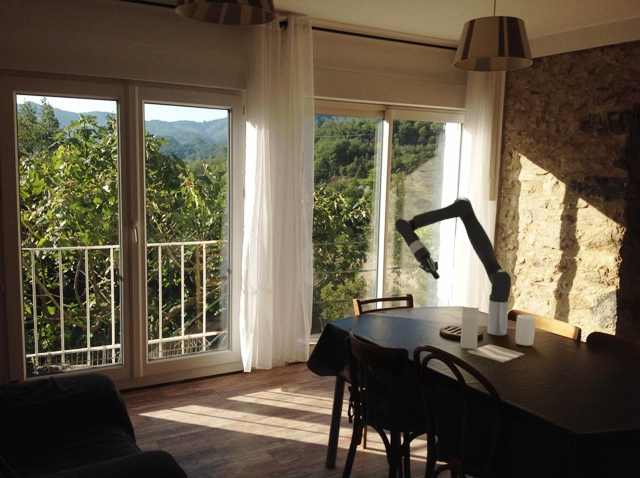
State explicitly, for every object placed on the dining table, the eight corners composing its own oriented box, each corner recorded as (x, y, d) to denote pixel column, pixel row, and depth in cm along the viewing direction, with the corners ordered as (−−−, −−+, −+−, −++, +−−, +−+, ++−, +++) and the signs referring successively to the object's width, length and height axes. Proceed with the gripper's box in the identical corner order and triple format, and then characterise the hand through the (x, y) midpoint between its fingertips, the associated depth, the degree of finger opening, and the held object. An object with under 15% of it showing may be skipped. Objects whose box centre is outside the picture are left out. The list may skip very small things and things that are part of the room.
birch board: (489, 345, 269) (489, 344, 269) (524, 355, 255) (524, 353, 255) (467, 352, 257) (467, 351, 257) (502, 362, 244) (502, 361, 244)
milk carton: (476, 349, 262) (479, 309, 260) (461, 348, 263) (463, 308, 261) (475, 345, 269) (478, 306, 267) (460, 343, 270) (462, 305, 268)
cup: (534, 344, 272) (536, 316, 271) (532, 349, 265) (534, 319, 263) (515, 342, 276) (517, 313, 274) (513, 346, 268) (515, 317, 267)
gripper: (415, 247, 279) (434, 275, 271) (432, 245, 288) (450, 272, 280) (406, 256, 283) (424, 284, 276) (423, 254, 292) (441, 281, 284)
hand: (437, 278), depth 278 cm, fingers closed
